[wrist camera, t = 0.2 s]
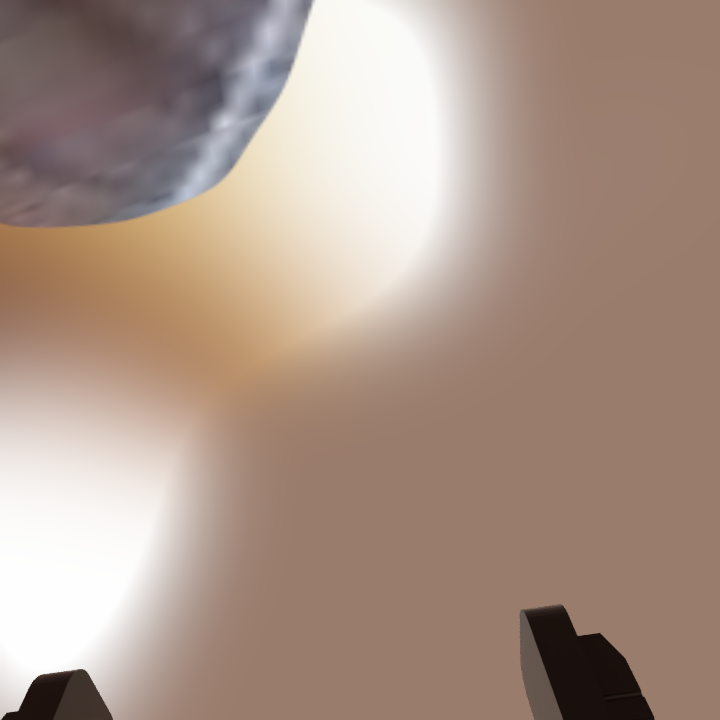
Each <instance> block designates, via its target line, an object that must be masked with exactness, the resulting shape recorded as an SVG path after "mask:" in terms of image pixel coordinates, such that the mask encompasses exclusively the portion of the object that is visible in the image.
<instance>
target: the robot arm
mask: <svg viewBox="0 0 720 720" xmlns="http://www.w3.org/2000/svg"><path fill="white" fill-rule="evenodd" d="M520 646H521V647H520V650H521V651H520V653H521V669H522V675H523V680H524V685H525V689H526V693H527V697H528V700H529V704H530V706H531V710H532V713H533V716H534V720H654V716H653V714H652V712H651V709H650V708H649V705H648V703H647V701H646V699H645V697H643V696H642V693H641V690H640V687H639V685H638V683H637V681H636V679H635V677H634V675H633V673H632V671H631V669H630V667H629V665H628V663H627V661H626V659H625V658H624V657H623V656H622V655H621V654H620V653H619V652H618V651H617V650H616V649H615V648H614V647H613V646H612V645H611V644H610V643H609V642H608V641H607V640H606V639H605V638H604V637H603V636H602V635H601V634H600V633H597V634H590V635H582V636H577V634H576V632H575V629H574V627H573V625H572V622H571V620H570V618H569V615H568V613H567V611H566V609H565V608H564V606H563V605H561V604H559V605H552V606H545V607H538V608H531V609H523V610H521V611H520ZM1 720H113V718H112V716H111V714H110V712H109V710H108V708H107V706H106V705H105V703H104V701H103V699H102V697H101V696H100V694H99V692H98V690H97V689H96V687H95V685H94V683H93V681H92V680H91V678H90V676H89V674H88V673H87V672H86V671H85V670H83V669H79V670H72V671H64V672H57V673H50V674H43V675H40V676H38V677H37V678H36V679H35V680H34V681H33V682H32V684H31V686H30V687H29V689H28V692H27V694H26V696H25V698H24V700H23V702H22V704H21V706H20V709H19V711H17V712H9V713H6V715H5V716H4V717H3V718H2V719H1Z"/></svg>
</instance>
